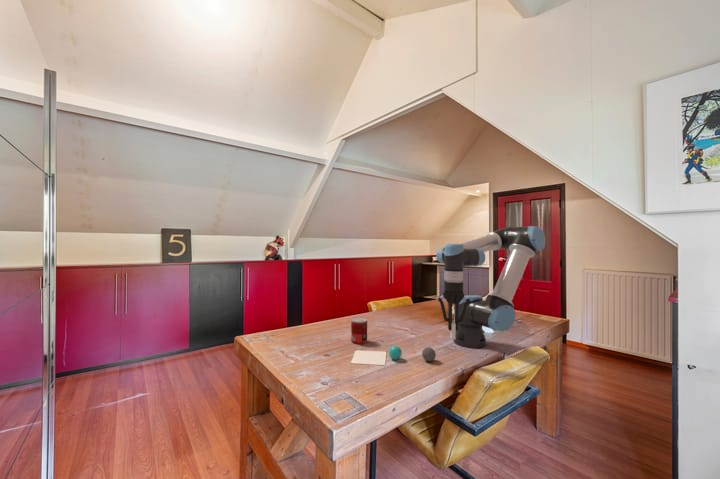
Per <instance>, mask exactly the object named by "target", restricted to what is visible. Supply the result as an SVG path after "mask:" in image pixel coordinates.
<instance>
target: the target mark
mask: <svg viewBox="0 0 720 479" xmlns="http://www.w3.org/2000/svg"><path fill="white" fill-rule="evenodd" d="M386 358H387V351H377V350H355V351H354V354H353V356H352V358H351V361H350V364H354V365H370V366H386V360H387V359H386Z"/></svg>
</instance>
